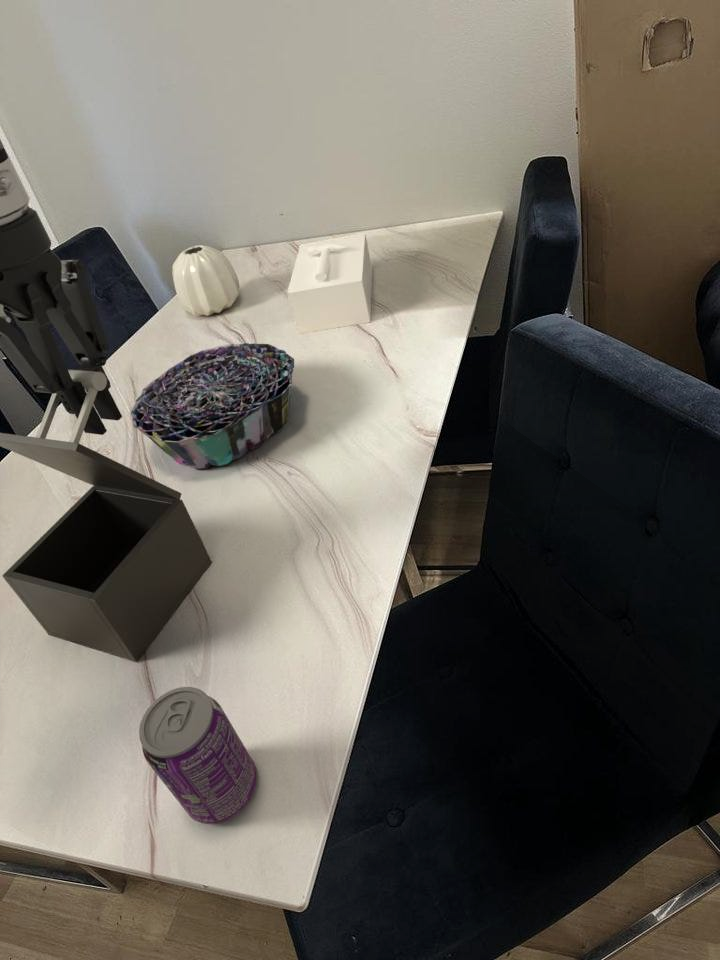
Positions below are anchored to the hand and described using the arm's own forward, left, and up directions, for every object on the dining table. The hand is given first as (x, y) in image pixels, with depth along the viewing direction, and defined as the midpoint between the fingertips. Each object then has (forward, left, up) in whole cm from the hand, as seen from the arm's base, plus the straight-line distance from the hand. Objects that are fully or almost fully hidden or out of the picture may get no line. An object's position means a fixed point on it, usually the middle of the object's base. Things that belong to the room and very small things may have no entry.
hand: (103, 424), depth 76 cm
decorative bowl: (+16, +23, -21) cm, 35 cm away
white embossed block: (+50, +53, -21) cm, 75 cm away
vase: (+28, +73, -21) cm, 81 cm away
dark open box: (-6, -5, -21) cm, 23 cm away
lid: (-4, -3, -3) cm, 6 cm away
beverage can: (-3, -35, -21) cm, 41 cm away
